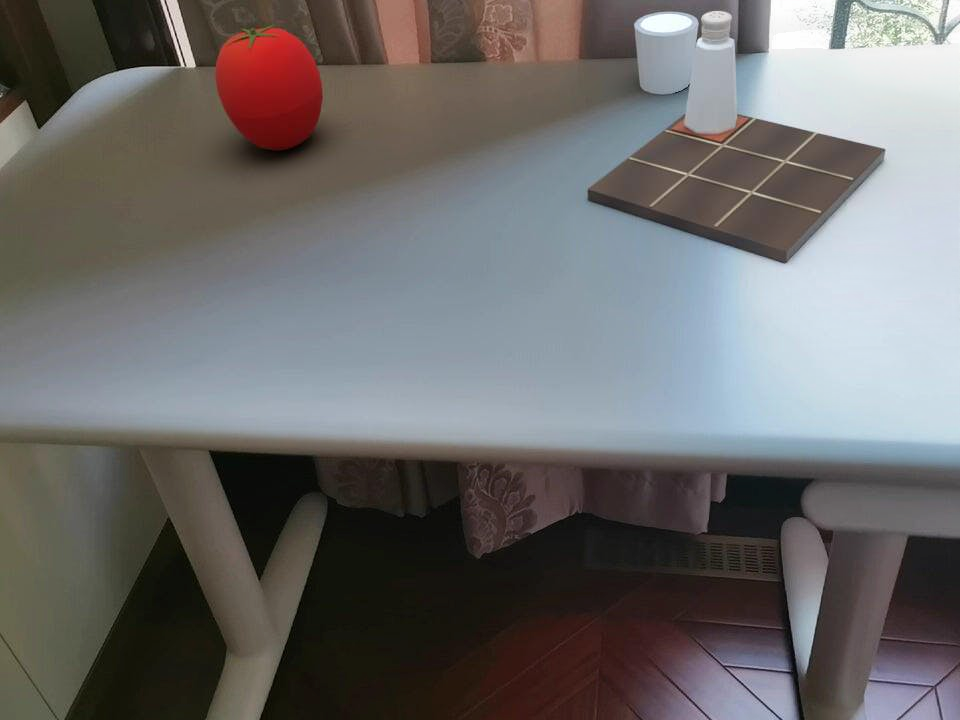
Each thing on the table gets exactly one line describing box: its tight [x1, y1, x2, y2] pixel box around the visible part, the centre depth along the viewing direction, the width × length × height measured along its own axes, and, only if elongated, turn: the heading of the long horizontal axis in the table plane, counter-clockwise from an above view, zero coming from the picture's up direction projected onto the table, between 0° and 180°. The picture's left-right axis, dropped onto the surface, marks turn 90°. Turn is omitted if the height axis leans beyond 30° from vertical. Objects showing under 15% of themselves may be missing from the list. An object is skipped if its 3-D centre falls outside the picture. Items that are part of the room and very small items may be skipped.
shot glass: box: [633, 11, 699, 95], centre depth 106 cm, size 7×7×7 cm
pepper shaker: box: [684, 10, 738, 135], centre depth 93 cm, size 5×5×11 cm
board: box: [587, 113, 886, 264], centre depth 90 cm, size 20×20×1 cm
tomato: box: [214, 24, 324, 151], centre depth 102 cm, size 11×11×13 cm
